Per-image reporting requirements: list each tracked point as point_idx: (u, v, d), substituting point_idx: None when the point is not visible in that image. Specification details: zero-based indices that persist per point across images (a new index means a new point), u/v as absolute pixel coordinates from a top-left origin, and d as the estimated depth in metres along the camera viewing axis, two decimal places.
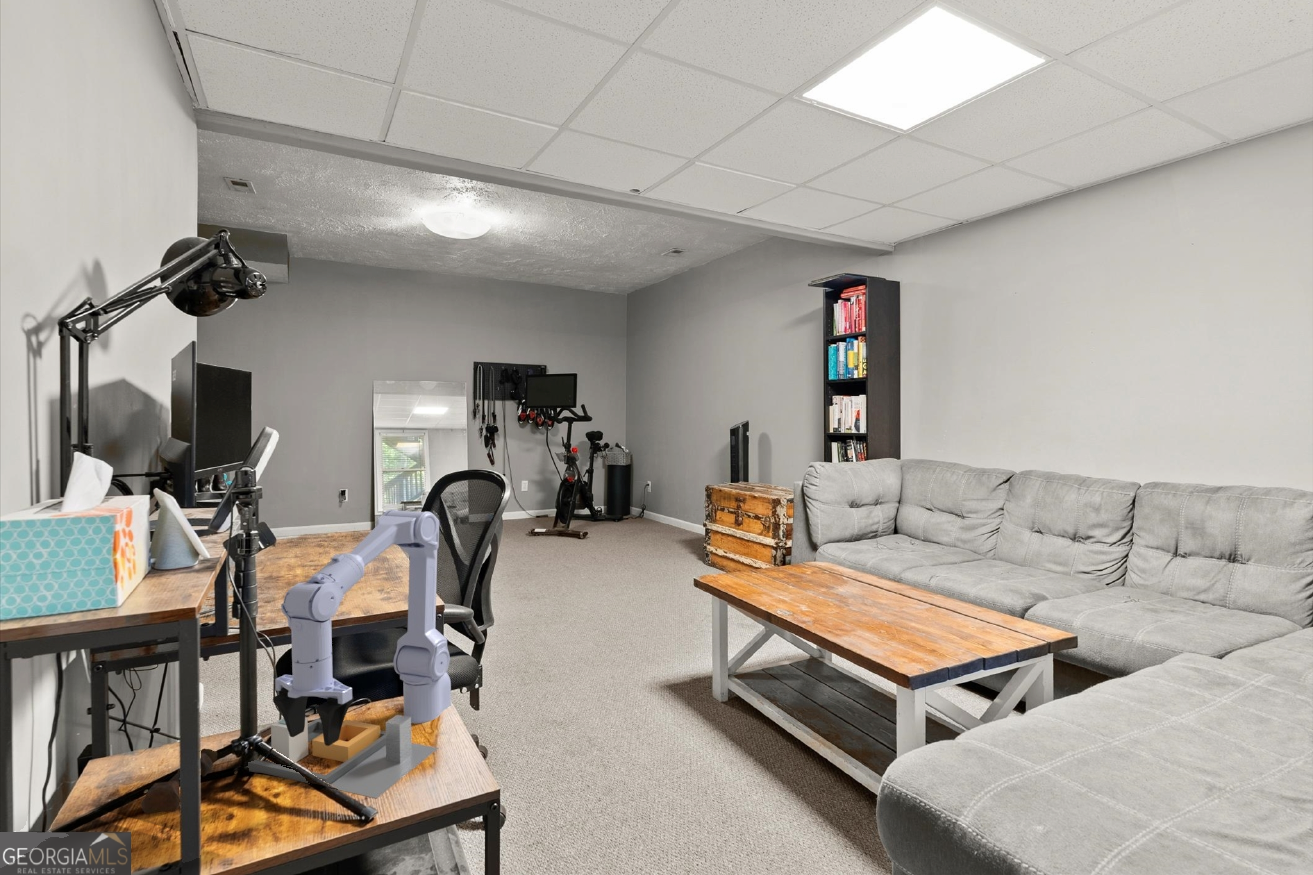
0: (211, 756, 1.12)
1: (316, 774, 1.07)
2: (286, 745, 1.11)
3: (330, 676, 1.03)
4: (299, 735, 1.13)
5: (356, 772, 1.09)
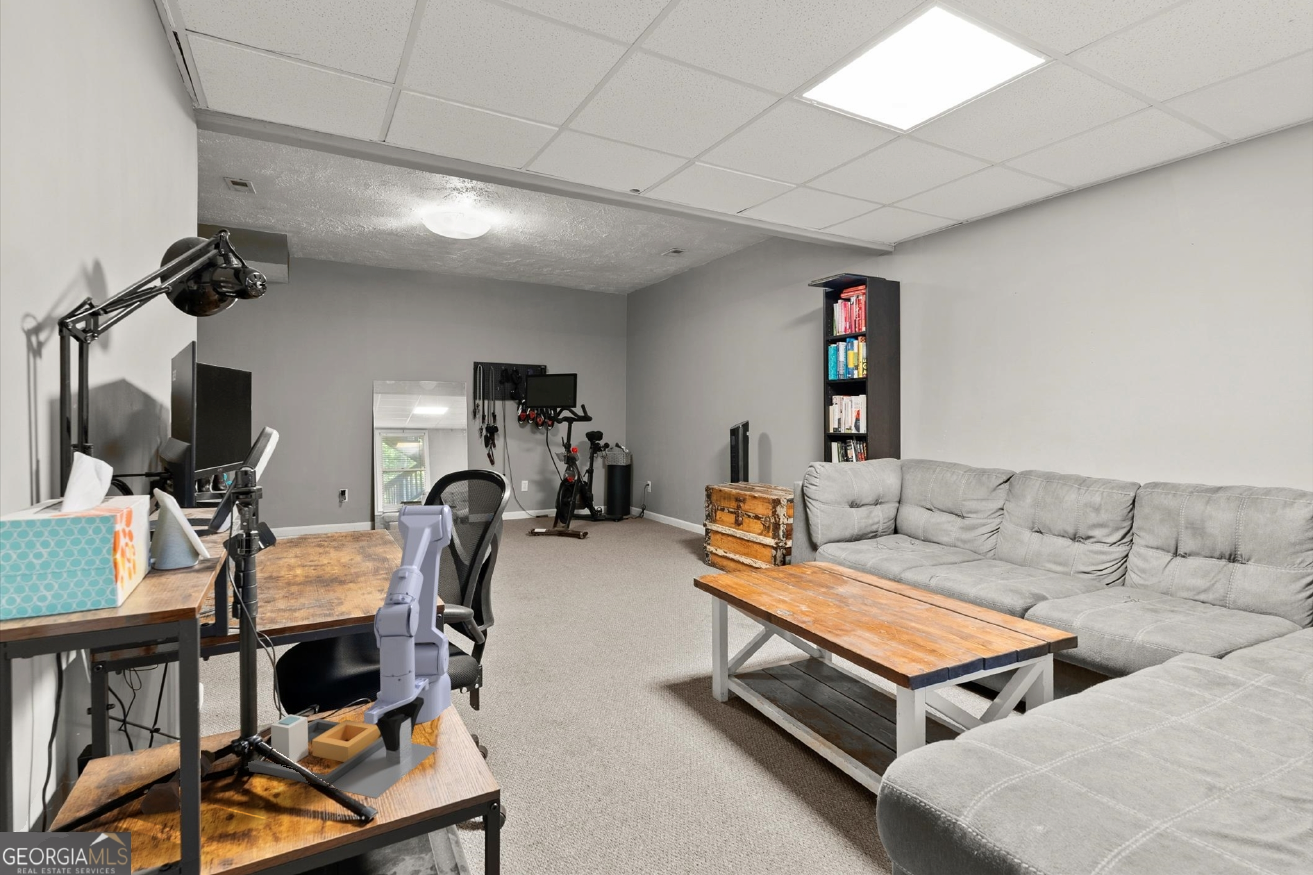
0: (209, 757, 1.12)
1: (316, 774, 1.07)
2: (286, 745, 1.11)
3: (392, 695, 1.11)
4: (299, 735, 1.13)
5: (356, 772, 1.09)
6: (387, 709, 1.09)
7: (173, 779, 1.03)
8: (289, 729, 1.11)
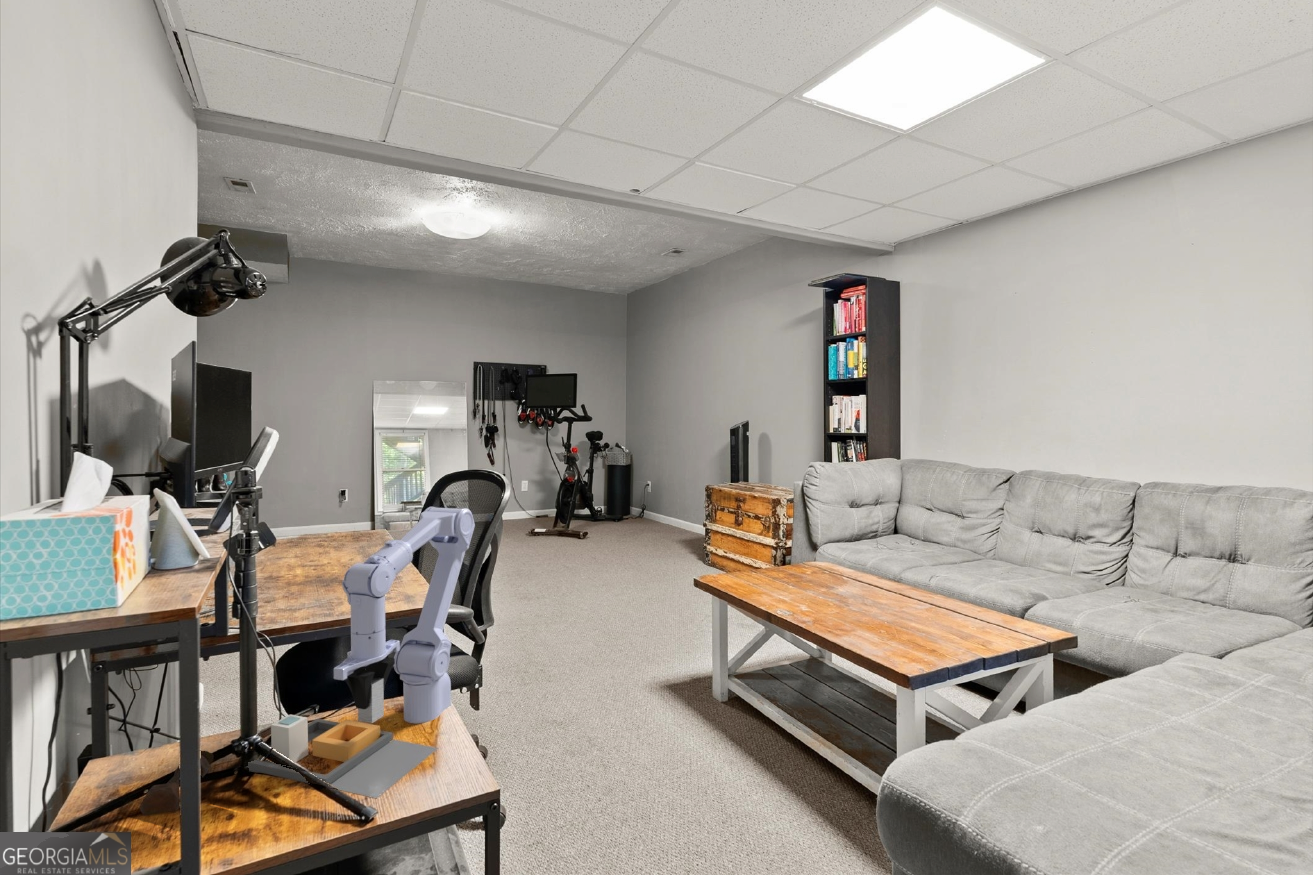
0: (208, 758, 1.11)
1: (316, 774, 1.07)
2: (286, 745, 1.11)
3: (363, 653, 1.12)
4: (299, 735, 1.13)
5: (356, 772, 1.09)
6: (357, 666, 1.10)
7: (172, 780, 1.03)
8: (289, 729, 1.11)
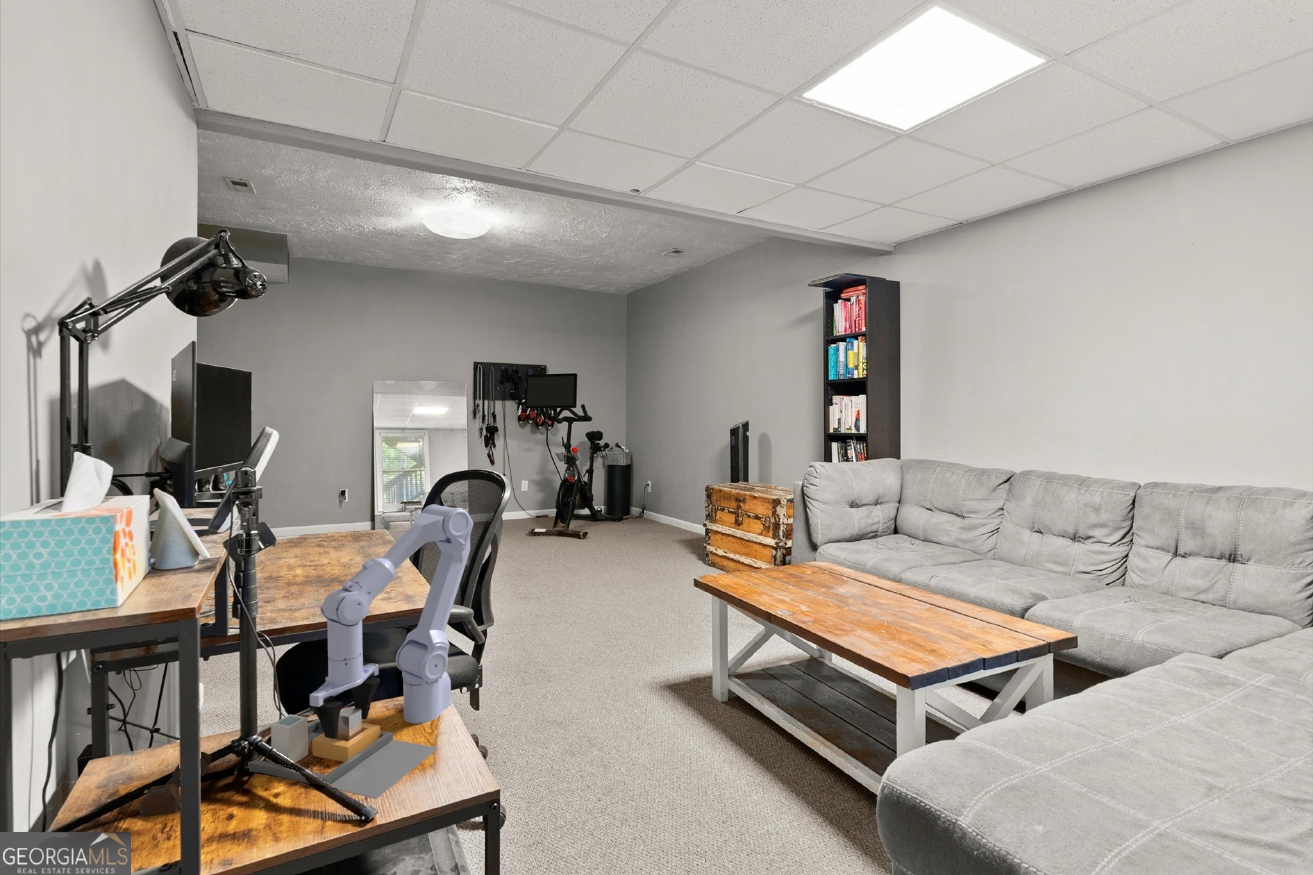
0: (205, 759, 1.11)
1: (316, 774, 1.07)
2: (286, 745, 1.11)
3: (339, 679, 1.14)
4: (299, 735, 1.13)
5: (356, 772, 1.09)
6: (333, 692, 1.12)
7: (171, 781, 1.03)
8: (289, 729, 1.11)
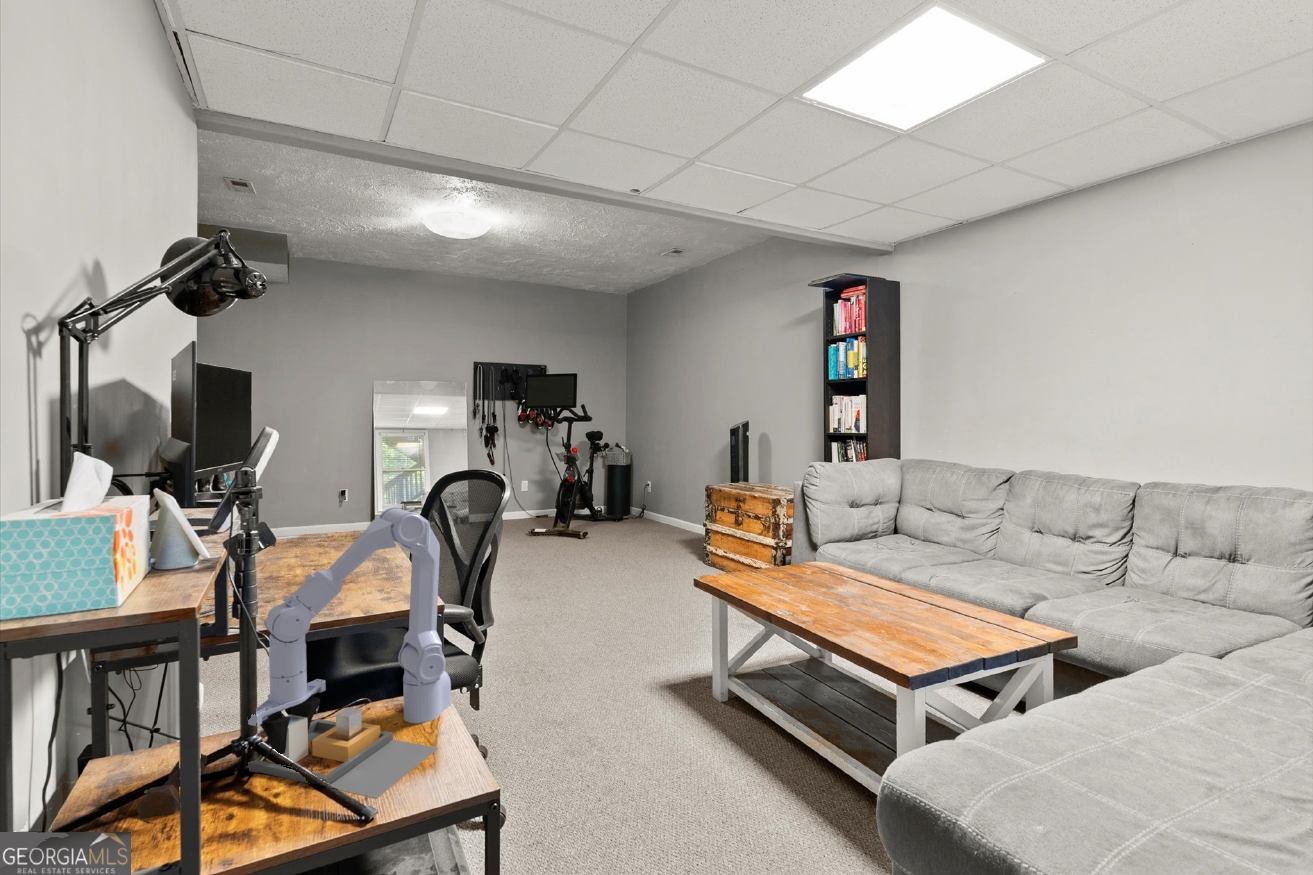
0: (202, 760, 1.11)
1: (316, 774, 1.07)
2: (286, 745, 1.11)
3: (280, 697, 1.11)
4: (299, 735, 1.13)
5: (356, 772, 1.09)
6: (273, 710, 1.09)
7: (168, 782, 1.02)
8: (289, 729, 1.11)
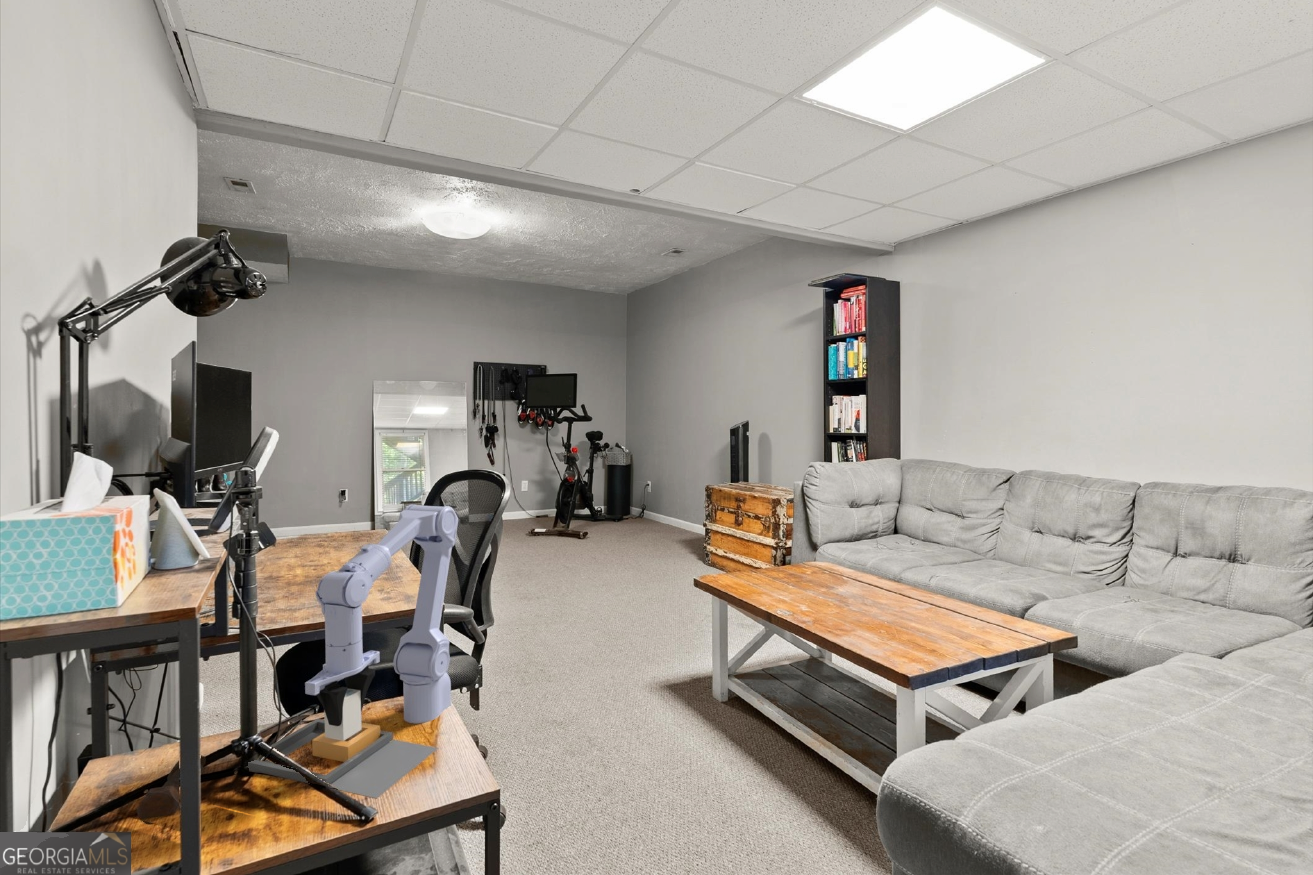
0: None
1: (316, 774, 1.07)
2: None
3: (337, 666, 1.07)
4: (352, 708, 1.09)
5: (356, 772, 1.09)
6: (330, 680, 1.05)
7: (168, 783, 1.02)
8: None
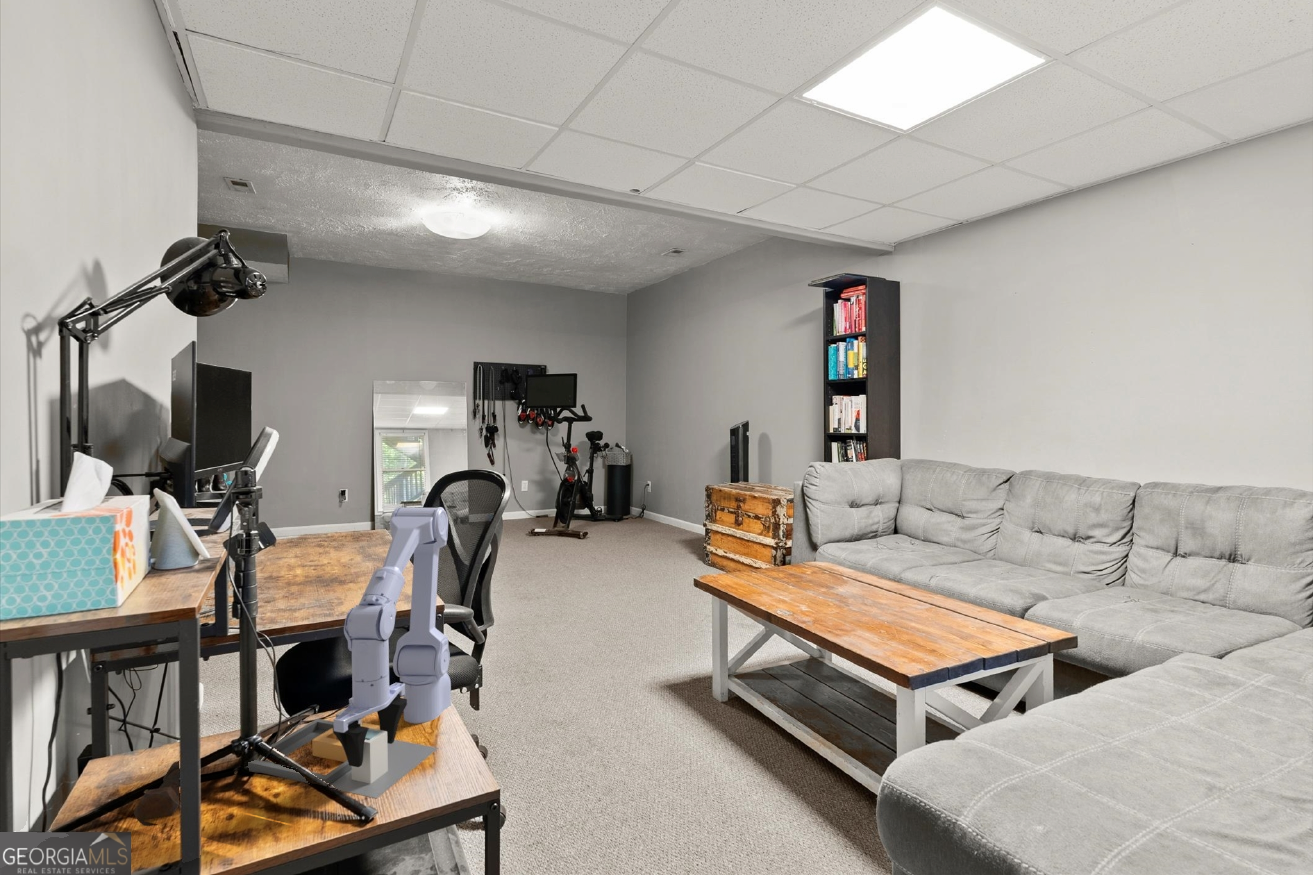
0: None
1: (316, 774, 1.07)
2: (367, 761, 1.06)
3: (365, 701, 1.05)
4: (379, 750, 1.08)
5: None
6: (358, 716, 1.03)
7: (165, 784, 1.02)
8: (370, 744, 1.06)
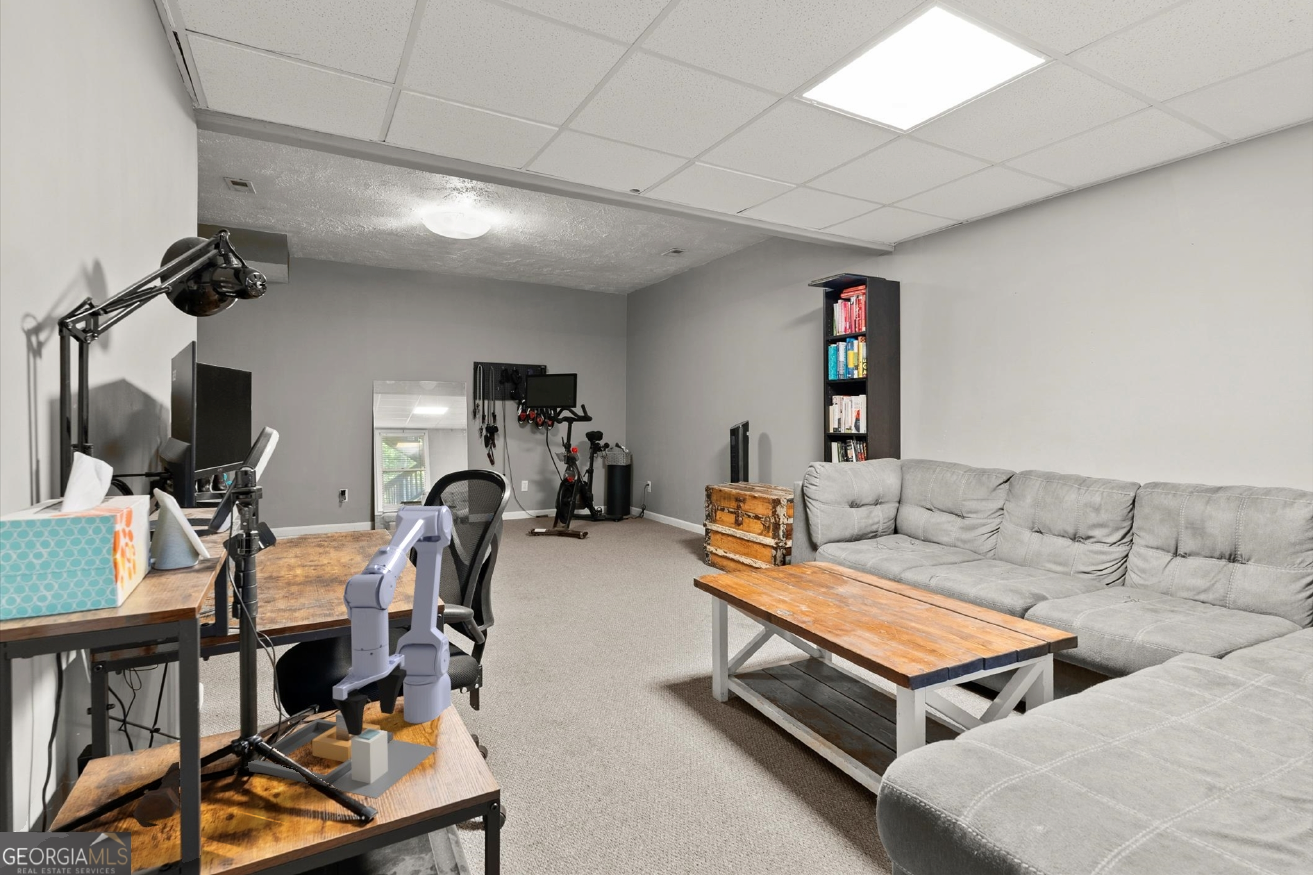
0: None
1: (316, 774, 1.07)
2: (367, 761, 1.06)
3: (364, 670, 1.05)
4: (379, 750, 1.08)
5: None
6: (358, 684, 1.03)
7: (164, 786, 1.01)
8: (370, 744, 1.06)
